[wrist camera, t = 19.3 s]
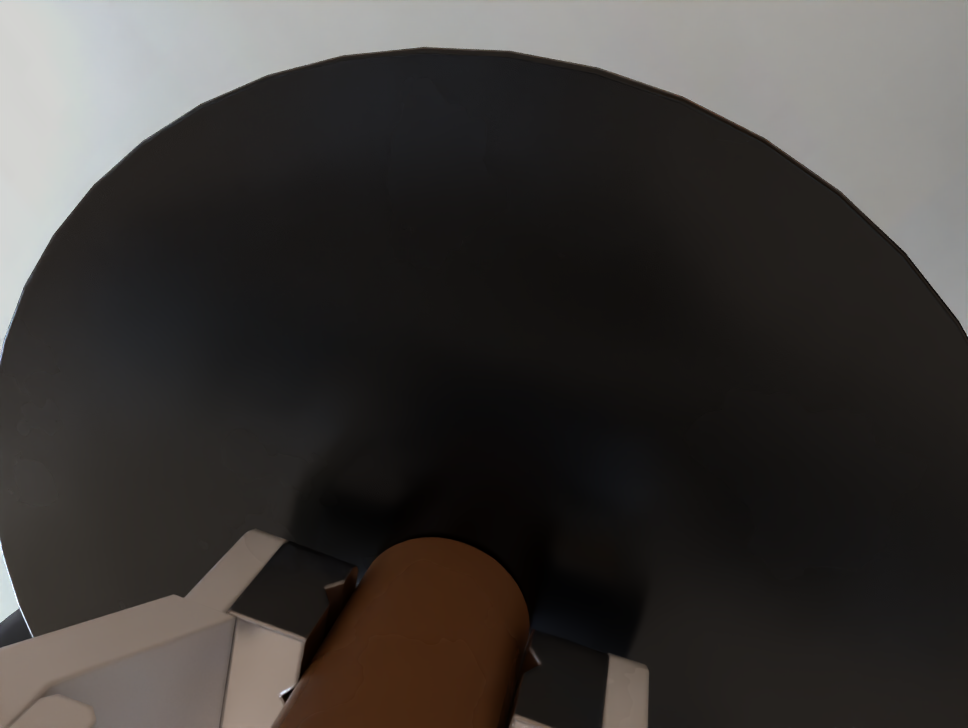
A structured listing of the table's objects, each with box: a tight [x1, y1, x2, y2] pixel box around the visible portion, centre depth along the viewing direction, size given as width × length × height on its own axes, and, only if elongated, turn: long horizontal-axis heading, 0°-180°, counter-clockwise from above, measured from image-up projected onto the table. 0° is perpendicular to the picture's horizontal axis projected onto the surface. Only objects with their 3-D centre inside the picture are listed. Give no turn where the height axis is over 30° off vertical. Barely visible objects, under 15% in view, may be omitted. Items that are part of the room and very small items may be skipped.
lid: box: [0, 47, 968, 728], centre depth 10 cm, size 14×14×5 cm
